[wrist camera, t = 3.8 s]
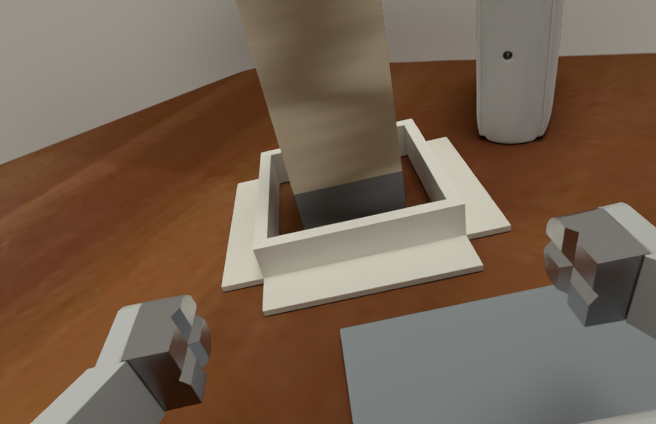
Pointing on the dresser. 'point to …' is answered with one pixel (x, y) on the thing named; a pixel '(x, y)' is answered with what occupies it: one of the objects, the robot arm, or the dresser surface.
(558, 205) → the dresser surface
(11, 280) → the dresser surface
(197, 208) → the dresser surface
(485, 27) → the photo printer
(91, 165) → the dresser surface
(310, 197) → the block
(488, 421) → the slate mat
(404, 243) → the flanged square frame
